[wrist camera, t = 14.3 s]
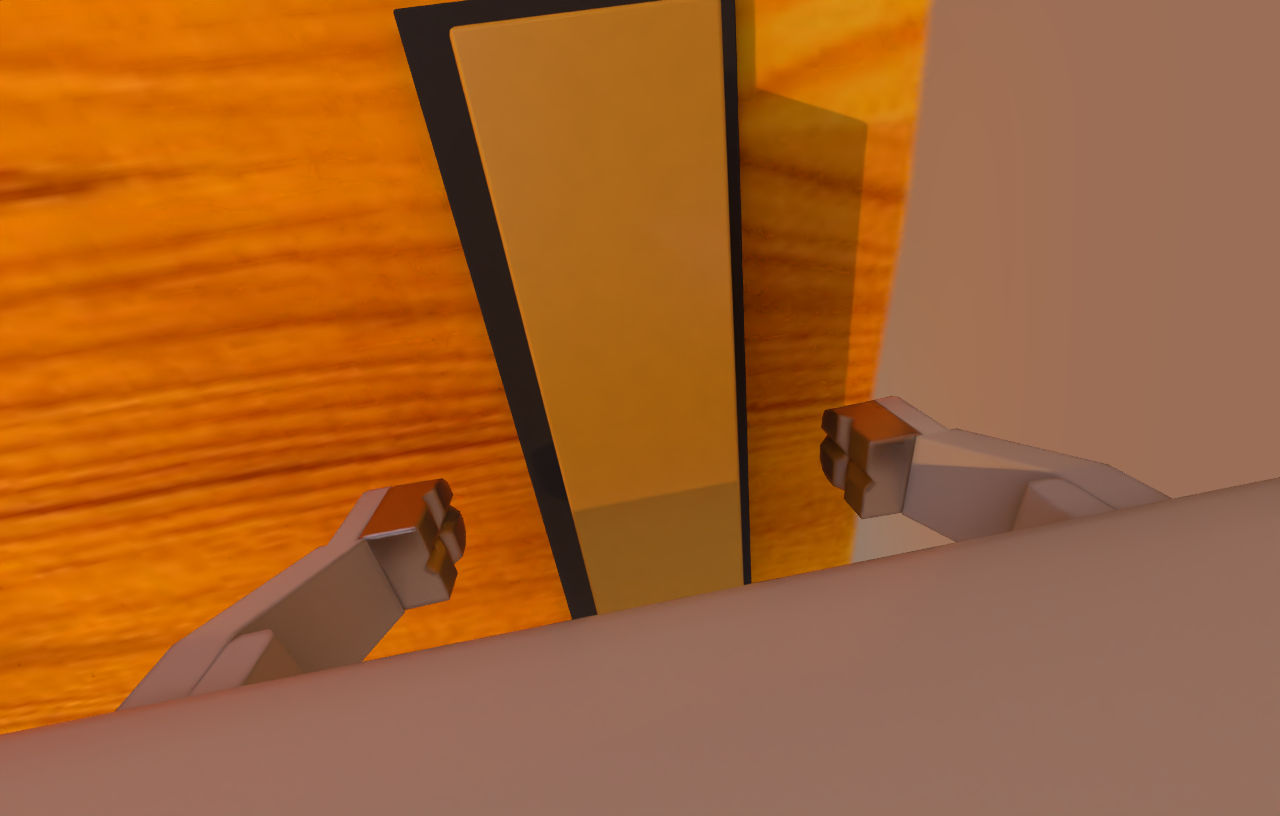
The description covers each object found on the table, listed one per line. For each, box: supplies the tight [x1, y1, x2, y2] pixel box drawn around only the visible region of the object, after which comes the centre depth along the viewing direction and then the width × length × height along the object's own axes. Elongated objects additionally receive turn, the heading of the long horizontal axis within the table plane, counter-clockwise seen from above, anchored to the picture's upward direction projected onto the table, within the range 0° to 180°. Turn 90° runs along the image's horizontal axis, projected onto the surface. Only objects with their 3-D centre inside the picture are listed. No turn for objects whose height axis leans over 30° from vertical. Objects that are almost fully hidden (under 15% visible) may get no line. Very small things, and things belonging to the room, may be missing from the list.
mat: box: [394, 0, 751, 620], centre depth 12 cm, size 18×6×1 cm, turn 8°
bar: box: [449, 0, 744, 615], centre depth 11 cm, size 4×16×3 cm, turn 8°
